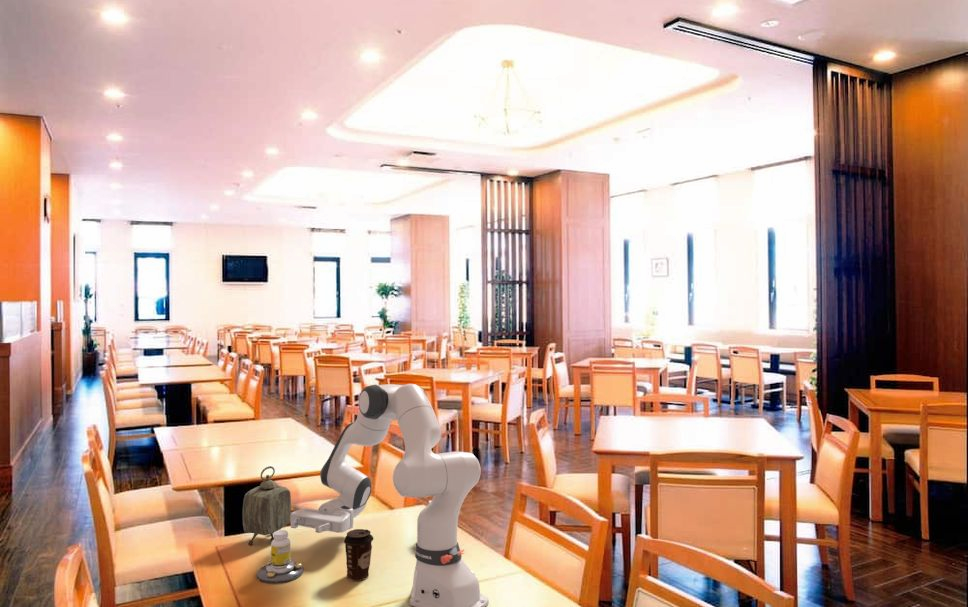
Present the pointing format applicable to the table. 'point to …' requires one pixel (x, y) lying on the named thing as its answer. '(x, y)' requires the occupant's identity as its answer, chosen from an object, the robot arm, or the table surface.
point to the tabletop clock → (266, 508)
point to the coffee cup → (358, 553)
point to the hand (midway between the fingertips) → (304, 527)
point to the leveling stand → (280, 573)
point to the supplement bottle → (280, 550)
